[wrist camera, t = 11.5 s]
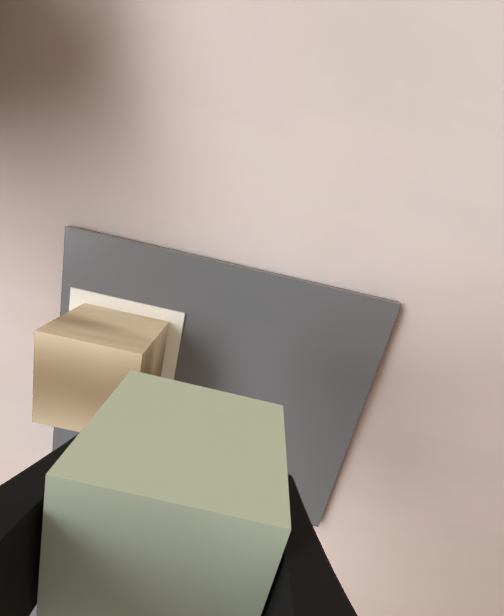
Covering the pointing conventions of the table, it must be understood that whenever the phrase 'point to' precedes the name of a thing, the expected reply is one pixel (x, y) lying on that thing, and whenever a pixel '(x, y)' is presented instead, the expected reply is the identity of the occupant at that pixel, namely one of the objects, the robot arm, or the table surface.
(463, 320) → the table surface
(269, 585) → the sage block
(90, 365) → the maple block
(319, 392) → the baseplate
